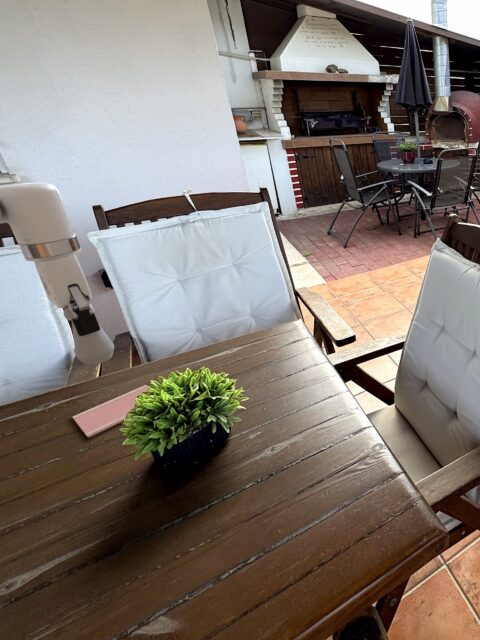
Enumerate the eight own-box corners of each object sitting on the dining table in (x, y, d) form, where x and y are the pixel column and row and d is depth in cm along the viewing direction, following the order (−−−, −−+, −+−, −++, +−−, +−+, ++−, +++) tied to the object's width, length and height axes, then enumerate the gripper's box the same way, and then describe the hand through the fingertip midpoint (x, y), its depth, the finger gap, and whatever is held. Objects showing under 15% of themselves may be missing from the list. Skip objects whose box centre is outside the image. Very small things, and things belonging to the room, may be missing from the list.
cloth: (88, 438, 83) (87, 436, 83) (72, 418, 89) (71, 416, 88) (164, 402, 93) (164, 400, 93) (146, 385, 99) (145, 384, 99)
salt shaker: (121, 357, 87) (100, 304, 83) (85, 371, 83) (60, 315, 78) (112, 349, 90) (91, 297, 86) (76, 362, 86) (52, 308, 81)
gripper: (12, 245, 79) (49, 326, 85) (33, 261, 70) (73, 350, 77) (66, 236, 85) (97, 312, 91) (92, 249, 76) (124, 332, 83)
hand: (85, 328), depth 84 cm, fingers closed on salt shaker, 4 cm apart
